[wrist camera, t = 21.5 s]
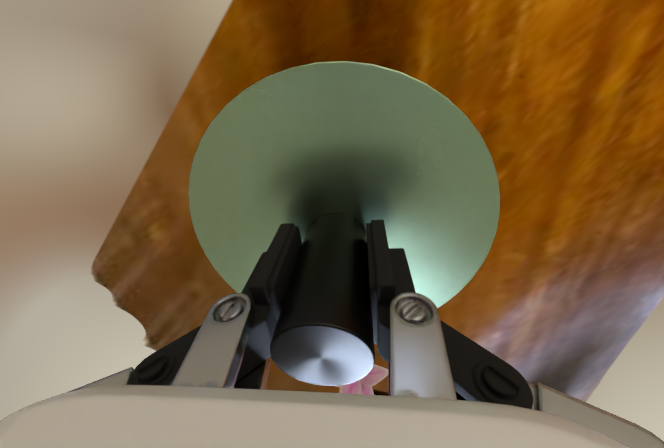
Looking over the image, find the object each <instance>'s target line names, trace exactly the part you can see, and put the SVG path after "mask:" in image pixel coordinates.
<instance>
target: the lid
mask: <svg viewBox="0 0 664 448" xmlns="http://www.w3.org/2000/svg"><path fill="white" fill-rule="evenodd" d="M189 205H190V213H191V218H192V222H193V226H194V230H195V232H196V235H197V237H198V240H199V243H200V245H201V247H202V249H203V250H204V252H205V254H206V256H207V258H208V259H209V261H210V262H211V264H212V265H213V267H214V268H215V269H216V271H217V272H218V273H219V274H220V275H221V277H222V278H223V279H224V280H225V281H226V282H227V283H228V284H229V285H230V286H231V287H232V288H233V289H234V290H235V291H236V292H237V293H241V292H242V290H243V288H244V286H245V285H246V283H247V281H248V279H249V277H250V275H251V273H252V271H253V270H254V268H255V266H256V264H257V262H258V260H259V258H260V256H261V255H262V253H263V252H267V250H268V248H269V246H270V244H271V242H272V240H273V238H274V236H275V234H276V232H277V230H278V228H279V226H280V225H281V224H285V223H294V225H295V226H298V227H299V230H300V236H301V241H302V247H301V250H300V254H299V257H298V260H297V263H296V266H295V269H294V272H293V275H292V278H291V281H290V285H289V288H288V291H287V294H286V297H285V300H284V303H283V306H282V309H281V312H280V315H279V319H278V322H277V325H276V328H275V331H274V334H273V337H272V340H271V343H270V354H271V357H272V359H273V361H274V363H275V364H276V365H277V366H278V367H279V368H280V369H281V370H282V371H283V372H285V373H286V374H288V375H290V376H292V377H294V378H296V379H298V380H301V381H304V382H307V383H311V384H316V385H325V386H336V385H345V384H349V383H353V382H356V381H358V380H360V379H362V378H363V377H365V376H366V375H367V374H368V373H369V372H370V371H371V369H372V368H373V365H374V362H375V352H374V336H373V320H372V315H371V307H370V289H369V271H368V253H367V229H366V223H371V220H382V219H383V220H384V224H385V230H386V235H387V241H388V247H389V248H403V249H404V251H405V254H406V258H407V262H408V265H409V269H410V273H411V277H412V280H413V284H414V288H415V292H416V293H419V294H422V295H424V296H426V297H428V298H429V299H430V300H432V301H433V303H434V304H435V305H436V307H437V308H438V307H440V306H441V305H443V304H444V303H446V302H447V301H449V300H450V299H451V298H452V297H453V296H455V295H456V294H457V293H458V292H459V291H461V289H462V288H463V287H464V286H465V285H466V284H467V283H468V282H469V281H470V280H471V279H472V277H473V276H474V275H475V273H476V272H477V271H478V269H479V268H480V267H481V265H482V263H483V261H484V260H485V258H486V256H487V254H488V252H489V250H490V248H491V245H492V242H493V239H494V237H495V234H496V229H497V224H498V219H499V211H500V192H499V184H498V176H497V172H496V169H495V166H494V163H493V160H492V156H491V154H490V152H489V150H488V148H487V146H486V144H485V142H484V140H483V138H482V136H481V134H480V133H479V132H478V130H477V129H476V128H475V126H474V125H473V124H472V122H471V121H470V120H469V118H468V117H467V116H466V115H465V114H464V113H463V112H462V111H461V110H460V109H459V108H458V107H457V106H456V105H455V104H454V103H453V102H452V101H451V100H449V99H448V98H447V97H446V96H444V95H443V94H441V93H440V92H438V91H437V90H435V89H434V88H432V87H431V86H429V85H428V84H426V83H425V82H422V81H420V80H418V79H416V78H414V77H412V76H409V75H407V74H405V73H403V72H401V71H397V70H393V69H390V68H386V67H383V66H379V65H375V64H369V63H360V62H352V61H330V62H316V63H311V64H306V65H301V66H296V67H291V68H288V69H286V70H283V71H281V72H278V73H275V74H273V75H270V76H267V77H265V78H264V79H262V80H260V81H258V82H257V83H255V84H253V85H252V86H250V87H248V88H246V89H245V90H244V91H242V92H241V93H240V94H239V95H237V96H236V97H235V98H234V99H233V100H231V101H230V102H229V103H228V104H227V105H226V106H225V107H224V108H223V109H222V110H221V112H220V113H219V114H218V115H217V116H216V117H215V118H214V120H213V121H212V122H211V124H210V126H209V127H208V129H207V130H206V132H205V134H204V135H203V137H202V139H201V141H200V144H199V146H198V149H197V151H196V153H195V156H194V159H193V164H192V168H191V173H190V179H189Z"/></svg>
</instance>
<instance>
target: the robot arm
mask: <svg viewBox="0 0 664 448" xmlns="http://www.w3.org/2000/svg"><path fill="white" fill-rule="evenodd" d="M366 229H367V253H368V271H369V289H370V307H371V315H372V320H373V336H374V344H377V348H378V353H379V355H380V356H381V357H382V358H383V359H384V360H385V361H386V362H388V396H382V395H363V394H344V393H324V392H303V391H282V390H266V385H267V380H268V375H269V370H270V365H271V354H270V343H271V340H272V337H273V334H274V331H275V328H276V325H277V322H278V319H279V315H280V312H281V309H282V306H283V303H284V300H285V297H286V294H287V291H288V288H289V285H290V281H291V278H292V275H293V272H294V269H295V266H296V263H297V260H298V257H299V254H300V250H301V247H302V241H301V236H300V230H299V227H298V226H295V225H294V223H285V224H281V225H280V226H279V228H278V230H277V232H276V234H275V236H274V238H273V240H272V242H271V244H270V246H269V248H268V250H267V252H263V253H262V255H261V256H260V258H259V260H258V262H257V264H256V266H255V268H254V270H253V271H252V273H251V275H250V277H249V279H248V281H247V283H246V285H245V286H244V288H243V290H242V292H241V293H233V294H229V295H227V296H224V297H223V298H221V299H219V300H218V301H217V302H216V303H215V304H214V305H213V306H212V307H211V309H210V310H209V312H208V314H207V316H206V318H205V320H204V322H203V324H202V325H201V326H199V327H198V328H196V329H194V330H192V331H191V332H189V333H187V334H186V335H184V336H182V337H180V338H179V339H177V340H175V341H174V342H172V343H170V344H168V345H167V346H165V347H163V348H162V349H160V350H158V351H156V352H155V353H153V354H151V355H150V356H148V357H147V358H146V359H144V360H143V361H142V362H141V363H140V364H139V365H138V366H137V367H136V368H135V370H134V369H133V368H132V367H131V368H129V369H126V370H123V371H120V372H118V373H115V374H113V375H110V376H108V377H105V378H103V379H100V380H97V381H95V382H92V383H90V384H87V385H85V386H82V387H80V388H77V389H74V390H72V391H69V392H67V393H63V394H60V395H57V396H54V397H51V398H48V399H45V400H42V401H39V402H37V403H34V404H32V405H29V406H27V407H25V408H23V409H20V410H18V411H16V412H14V413H12V414H10V415H9V416H7V417H5V418H4V419H2V420H1V421H0V448H664V442H663V441H662V440H661V439H659V438H658V437H657V436H655V435H654V434H653V433H651V432H650V431H648V430H646V429H644V428H642V427H640V426H639V425H637V424H635V423H632V422H630V421H628V420H625V419H623V418H620V417H618V416H616V415H614V414H611V413H609V412H607V411H604V410H602V409H600V408H597V407H595V406H593V405H590V404H588V403H586V402H583V401H581V400H579V399H576V398H574V397H572V396H569V395H567V394H565V393H562V392H560V391H558V390H555V389H553V388H551V387H548V386H546V385H544V384H541V383H538V384H537V386H536V385H534V384H531V383H529V382H527V381H526V380H525V379H524V377H523V376H522V375H521V374H520V373H519V372H518V371H517V370H516V369H514V368H513V367H512V366H511V365H509V364H508V363H506V362H505V361H503V360H501V359H500V358H498V357H497V356H495V355H494V354H492V353H491V352H489V351H487V350H486V349H484V348H483V347H481V346H480V345H478V344H477V343H475V342H473V341H472V340H470V339H469V338H467V337H466V336H464V335H463V334H461V333H459V332H458V331H456V330H455V329H453V328H452V327H450V326H449V325H447V324H446V323H444V322H442V321H441V320H440V317H439V313H438V309H437V307H436V305H435V304H434V303H433V301H432V300H430V299H429V298H428V297H426V296H424V295H422V294H419V293H416V292H415V288H414V284H413V280H412V277H411V273H410V269H409V265H408V262H407V258H406V254H405V251H404V249H403V248H389V247H388V241H387V235H386V230H385V224H384V220H383V219H382V220H371V223H366Z"/></svg>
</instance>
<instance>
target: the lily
mask: <svg viewBox="0 0 664 448" xmlns="http://www.w3.org/2000/svg"><path fill="white" fill-rule="evenodd" d="M387 375H388V370H387V369H386V368H383V367H380V366H377V365H373V368H372V369H371V371H370V372H369V373H368V374H367V375H366V376H365V377H363V378H362V379H360V380H358V381H356V382H353V383H349V384H345V385H336V386H337V387H340V393H344V394H363V395H374V392H373V389H372V386H374V385H376V384H377V383H379V382H380V381H381V380H383V379H384V378H385V377H386V376H387Z"/></svg>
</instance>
